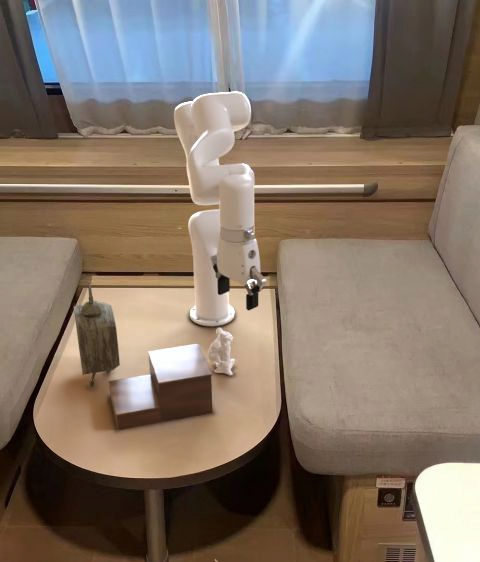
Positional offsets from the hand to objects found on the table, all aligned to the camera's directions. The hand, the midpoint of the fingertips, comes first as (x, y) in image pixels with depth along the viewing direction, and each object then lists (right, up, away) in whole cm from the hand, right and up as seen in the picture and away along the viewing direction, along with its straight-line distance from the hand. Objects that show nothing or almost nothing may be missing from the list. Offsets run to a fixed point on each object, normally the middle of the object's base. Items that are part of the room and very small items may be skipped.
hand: (237, 300), depth 173 cm
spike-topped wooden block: (-34, -19, +17) cm, 42 cm away
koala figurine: (-3, -18, +18) cm, 25 cm away
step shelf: (-18, -25, +5) cm, 31 cm away
